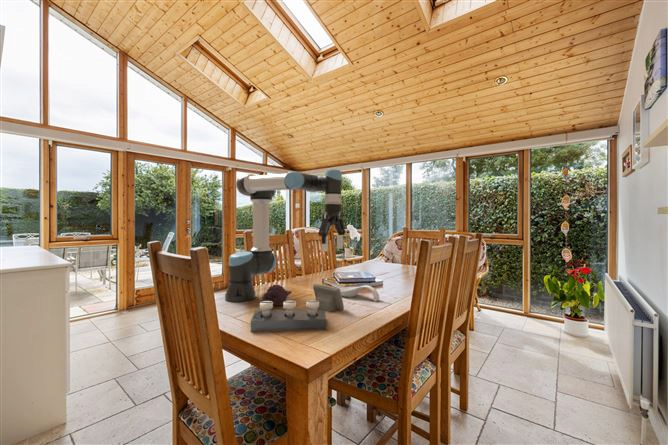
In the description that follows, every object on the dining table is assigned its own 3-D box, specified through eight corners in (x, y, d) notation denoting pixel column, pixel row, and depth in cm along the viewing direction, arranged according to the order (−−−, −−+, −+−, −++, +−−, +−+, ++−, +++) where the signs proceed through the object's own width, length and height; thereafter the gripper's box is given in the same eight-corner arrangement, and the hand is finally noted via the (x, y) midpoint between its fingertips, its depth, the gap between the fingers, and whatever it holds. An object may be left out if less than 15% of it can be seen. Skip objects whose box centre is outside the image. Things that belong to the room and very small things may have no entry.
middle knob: (282, 318, 118) (283, 303, 118) (283, 314, 123) (283, 300, 123) (296, 318, 118) (296, 303, 118) (296, 314, 123) (296, 299, 123)
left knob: (258, 319, 117) (259, 304, 117) (260, 314, 122) (260, 300, 122) (272, 318, 117) (272, 303, 117) (273, 314, 122) (273, 300, 122)
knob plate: (250, 331, 113) (250, 321, 113) (255, 320, 125) (255, 311, 125) (326, 329, 116) (326, 319, 116) (323, 319, 128) (323, 309, 128)
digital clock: (345, 310, 141) (346, 287, 141) (330, 314, 135) (330, 290, 135) (324, 302, 153) (324, 281, 153) (309, 305, 148) (309, 283, 147)
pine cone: (269, 312, 136) (269, 289, 136) (254, 308, 142) (254, 286, 142) (296, 303, 151) (296, 283, 151) (281, 299, 157) (281, 280, 156)
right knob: (306, 318, 119) (306, 303, 119) (306, 313, 124) (306, 299, 124) (319, 317, 119) (319, 302, 119) (318, 313, 124) (318, 299, 124)
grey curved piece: (332, 296, 166) (333, 283, 165) (344, 292, 175) (344, 279, 175) (372, 304, 153) (373, 289, 153) (382, 298, 163) (382, 285, 162)
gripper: (325, 202, 128) (324, 252, 129) (352, 204, 150) (351, 248, 150) (310, 202, 132) (310, 251, 133) (339, 204, 154) (338, 247, 154)
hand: (332, 249), depth 142 cm, fingers open, 13 cm apart
